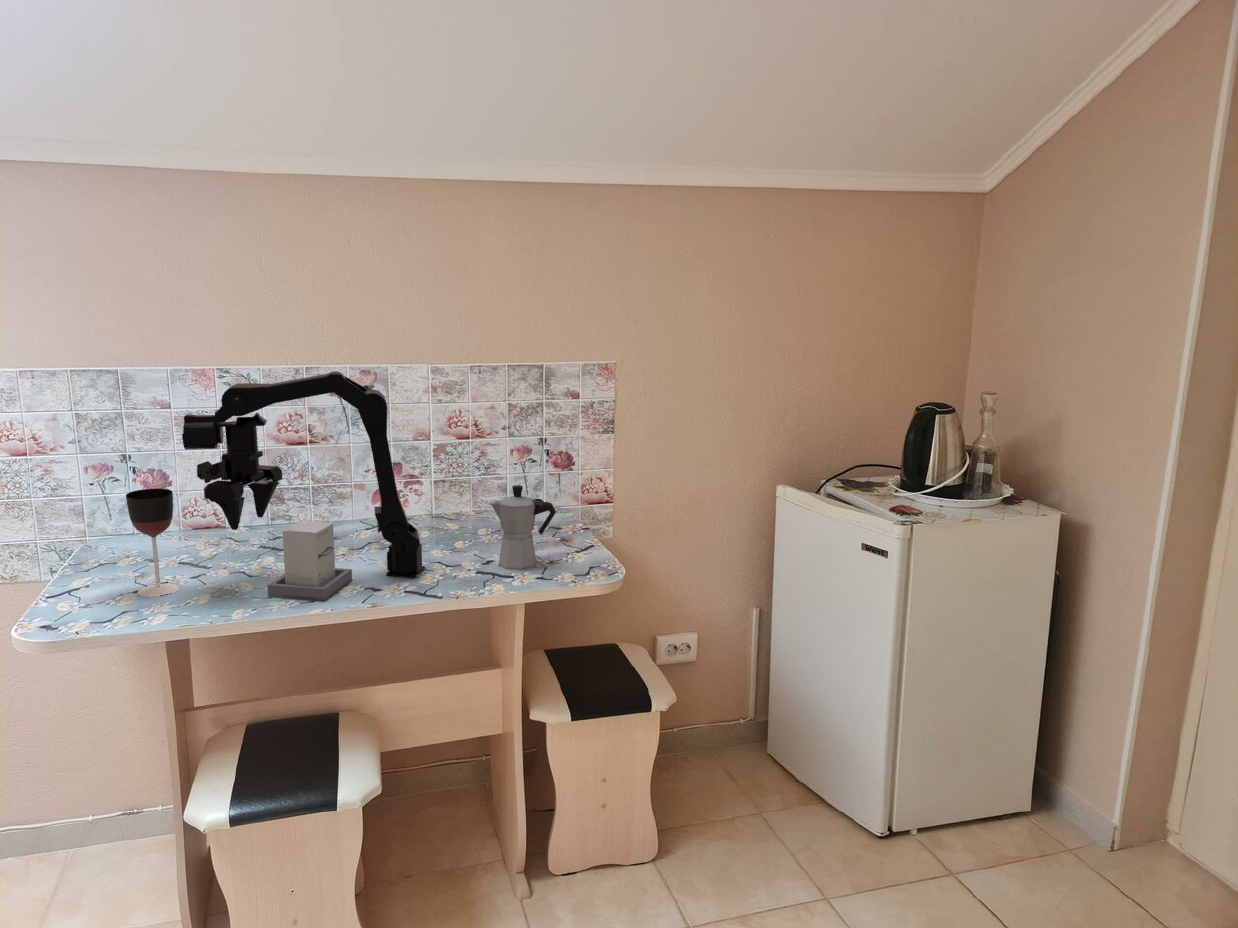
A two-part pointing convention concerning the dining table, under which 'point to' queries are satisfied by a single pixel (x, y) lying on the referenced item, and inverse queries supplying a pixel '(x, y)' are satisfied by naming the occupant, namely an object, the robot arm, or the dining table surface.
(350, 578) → the tray
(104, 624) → the dining table surface
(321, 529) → the supplement box
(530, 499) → the coffee maker
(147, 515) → the wineglass
